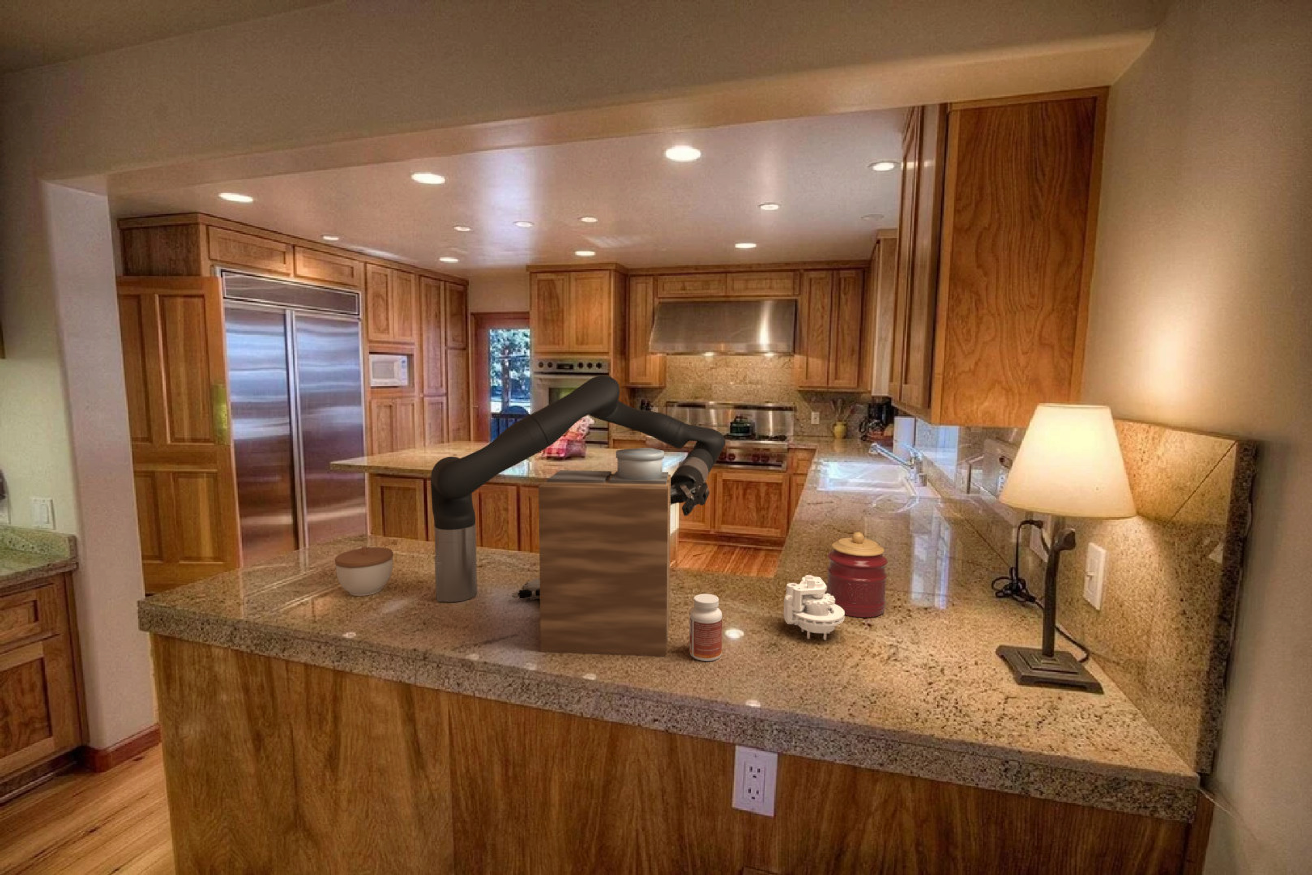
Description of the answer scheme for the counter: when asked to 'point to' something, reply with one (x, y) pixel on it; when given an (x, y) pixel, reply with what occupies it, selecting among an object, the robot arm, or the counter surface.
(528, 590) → the robot toy
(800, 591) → the mechanical part
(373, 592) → the lidded bowl
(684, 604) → the counter surface
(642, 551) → the wooden box
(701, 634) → the pill bottle
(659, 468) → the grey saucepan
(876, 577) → the canister
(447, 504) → the robot arm
